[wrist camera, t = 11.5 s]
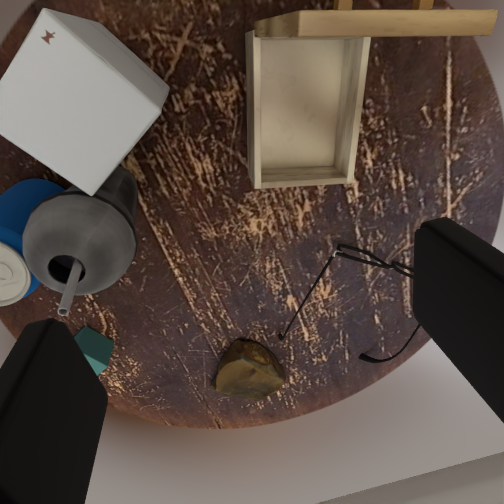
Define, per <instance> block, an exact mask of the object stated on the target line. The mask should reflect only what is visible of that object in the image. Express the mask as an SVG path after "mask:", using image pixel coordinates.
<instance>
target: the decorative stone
mask: <svg viewBox="0 0 504 504" xmlns="http://www.w3.org/2000/svg"><path fill="white" fill-rule="evenodd" d="M285 380H286V377H285V373H284V370H283V368H282V366H281V365H280V364H278V363H277V360H276V358H275V357H274V355H273V354H272V353H271V352H269V351H268V350H266V349H265V348H264V347H262V346H261V345H259V344H258V343H256V342H253V341H247V342H243V341H240V340H237V341H235V342H234V343H233V344H232V345H231V346H230V347H229V349H228V351H227V352H226V354H225V356H224V357H223V359H222V360H221V362H220V364H219V368H218V374H217V376H216V377H215V379H214V380H213V382H212V383H211V385H210V388H214V390H215V391H217V392H219V393H221V394H224V395H229V396H233V397H239V398H245V399H252V400H256V401H259V400H263V399H264V398H265V397H267V396H269V395H271V394H274V393H276V392H277V391H278V390H279V389H280V388H281V386H282V385H283V383H284V382H285Z"/></svg>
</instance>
